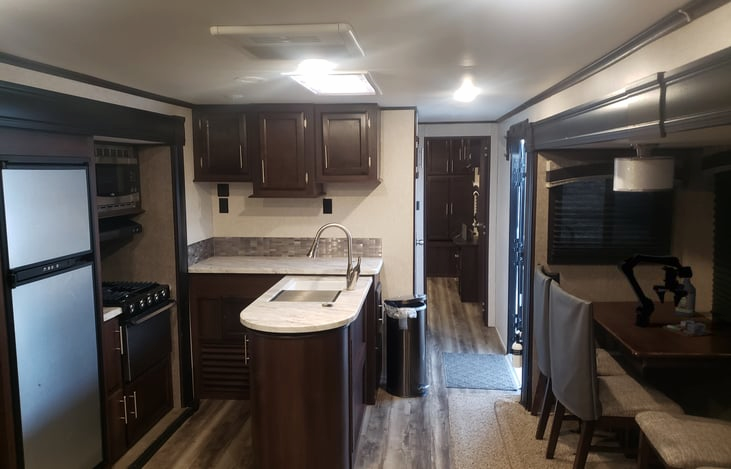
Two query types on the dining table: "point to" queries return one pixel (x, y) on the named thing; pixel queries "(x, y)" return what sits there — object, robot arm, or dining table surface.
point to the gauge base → (688, 329)
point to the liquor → (687, 300)
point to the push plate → (685, 324)
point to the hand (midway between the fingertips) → (669, 305)
